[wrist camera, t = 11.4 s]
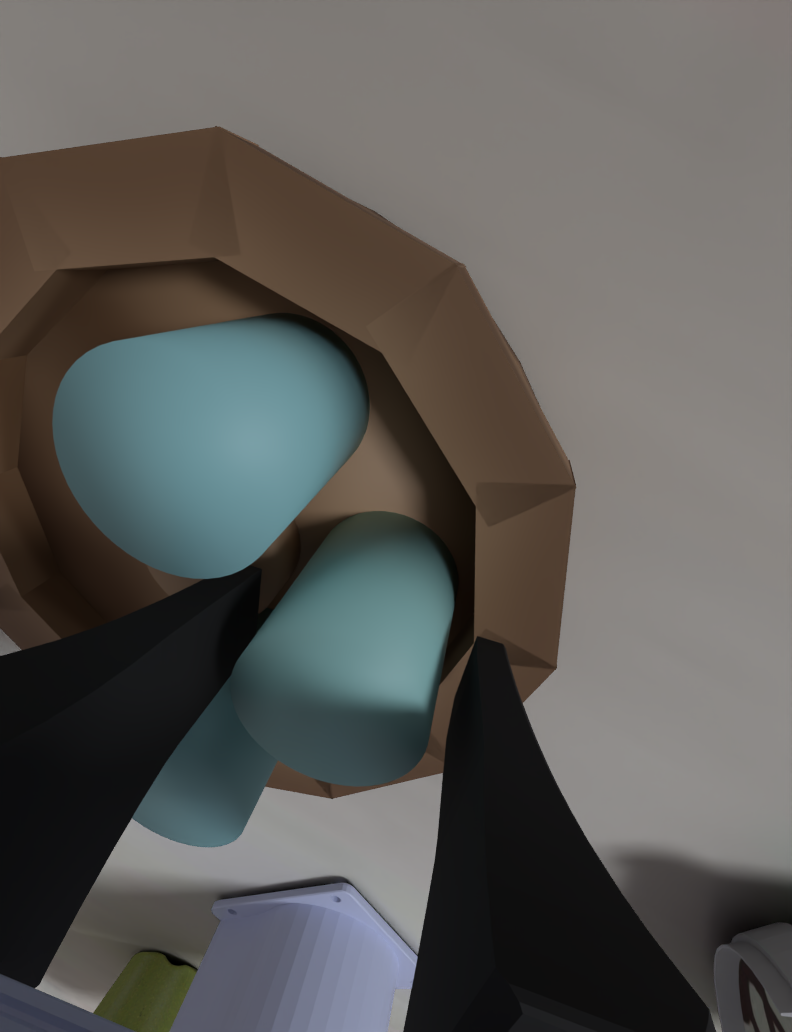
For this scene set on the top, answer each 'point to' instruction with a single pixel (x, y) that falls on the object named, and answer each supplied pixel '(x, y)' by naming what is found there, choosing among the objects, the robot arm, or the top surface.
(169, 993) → the plant pot
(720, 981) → the food container
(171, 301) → the groove tray
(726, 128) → the top surface
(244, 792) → the seated bead
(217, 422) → the bead
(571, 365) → the top surface
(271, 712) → the loose bead
